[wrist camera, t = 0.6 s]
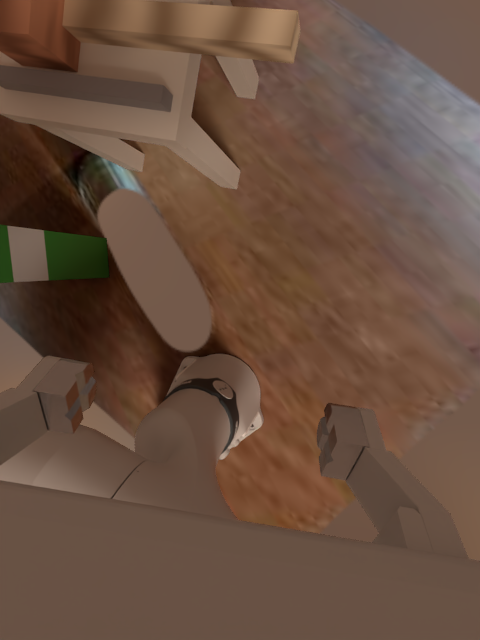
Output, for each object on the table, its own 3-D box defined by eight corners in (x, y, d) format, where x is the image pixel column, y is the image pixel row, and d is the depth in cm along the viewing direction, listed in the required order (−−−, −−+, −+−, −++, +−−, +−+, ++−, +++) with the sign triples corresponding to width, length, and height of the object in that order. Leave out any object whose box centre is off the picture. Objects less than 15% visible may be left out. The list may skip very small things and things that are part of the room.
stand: (262, 75, 54) (202, -101, 28) (238, 193, 58) (166, 133, 32) (139, 61, 58) (-11, -100, 33) (124, 171, 62) (-21, 104, 36)
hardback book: (34, 278, 71) (-107, 284, 48) (30, 241, 70) (-117, 229, 47) (109, 277, 66) (-7, 283, 43) (106, 238, 65) (-15, 222, 42)
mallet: (308, -6, 29) (303, -73, 23) (285, 97, 31) (276, 58, 25) (28, -22, 35) (-31, -78, 29) (22, 65, 37) (-35, 28, 31)
